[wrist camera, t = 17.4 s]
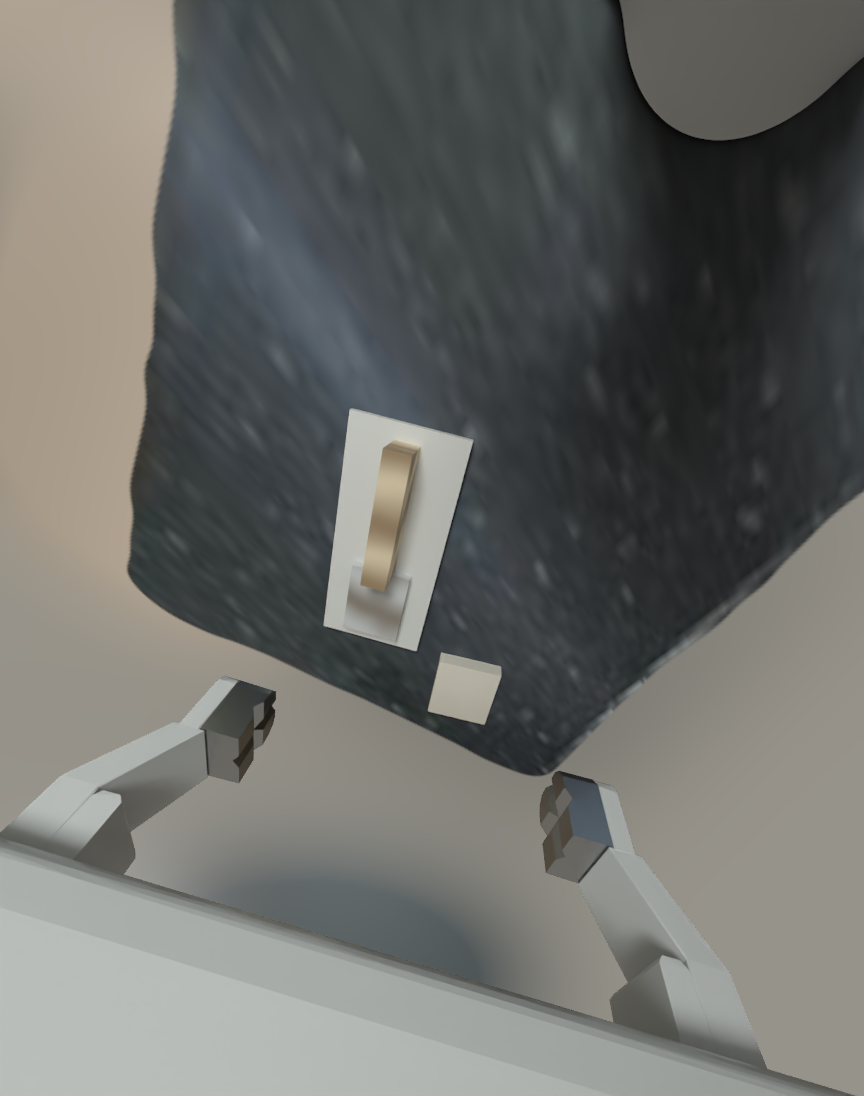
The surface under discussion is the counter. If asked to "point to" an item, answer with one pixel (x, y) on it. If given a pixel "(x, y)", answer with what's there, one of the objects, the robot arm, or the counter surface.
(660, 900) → the robot arm
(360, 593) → the wooden handled scraper
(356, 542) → the board
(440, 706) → the tile
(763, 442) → the counter surface
